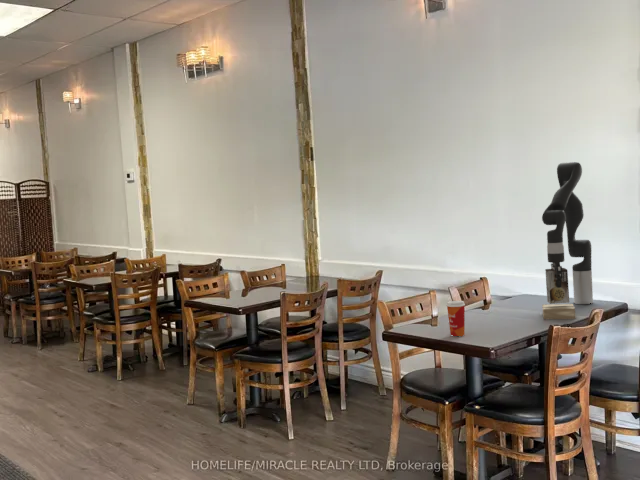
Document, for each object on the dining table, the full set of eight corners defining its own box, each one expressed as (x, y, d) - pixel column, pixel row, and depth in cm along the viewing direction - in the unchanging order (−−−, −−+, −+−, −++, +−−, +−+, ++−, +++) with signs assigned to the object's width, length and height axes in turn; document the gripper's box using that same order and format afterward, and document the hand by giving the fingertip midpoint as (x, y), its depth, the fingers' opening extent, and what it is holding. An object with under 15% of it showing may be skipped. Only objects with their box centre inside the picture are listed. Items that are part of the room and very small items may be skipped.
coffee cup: (445, 334, 298) (443, 301, 297) (463, 332, 298) (461, 299, 297) (451, 338, 289) (449, 304, 288) (469, 336, 290) (467, 302, 289)
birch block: (542, 314, 327) (542, 304, 327) (573, 314, 323) (572, 303, 323) (544, 319, 314) (543, 309, 314) (575, 319, 310) (575, 308, 310)
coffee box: (566, 300, 321) (564, 267, 320) (569, 302, 315) (568, 269, 313) (546, 301, 322) (545, 268, 321) (549, 304, 315) (548, 270, 314)
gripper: (567, 253, 309) (568, 288, 310) (560, 250, 323) (562, 283, 324) (550, 253, 310) (552, 289, 311) (544, 250, 324) (546, 284, 325)
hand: (557, 286), depth 318 cm, fingers closed on coffee box, 6 cm apart
